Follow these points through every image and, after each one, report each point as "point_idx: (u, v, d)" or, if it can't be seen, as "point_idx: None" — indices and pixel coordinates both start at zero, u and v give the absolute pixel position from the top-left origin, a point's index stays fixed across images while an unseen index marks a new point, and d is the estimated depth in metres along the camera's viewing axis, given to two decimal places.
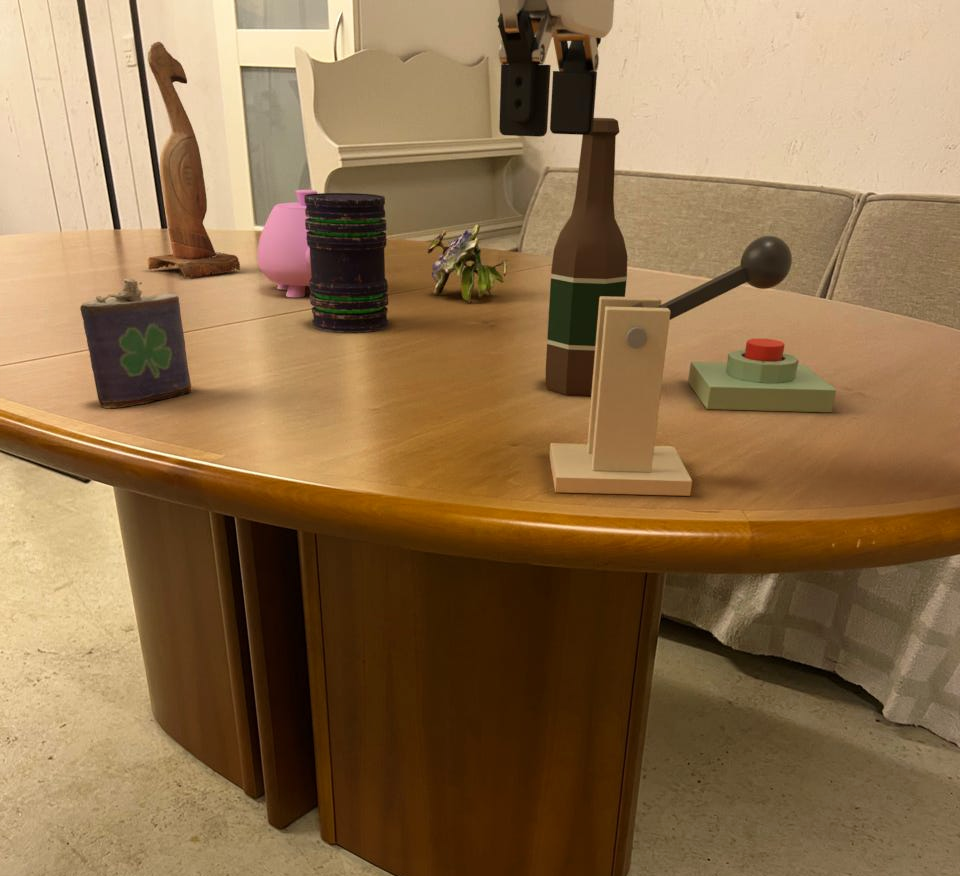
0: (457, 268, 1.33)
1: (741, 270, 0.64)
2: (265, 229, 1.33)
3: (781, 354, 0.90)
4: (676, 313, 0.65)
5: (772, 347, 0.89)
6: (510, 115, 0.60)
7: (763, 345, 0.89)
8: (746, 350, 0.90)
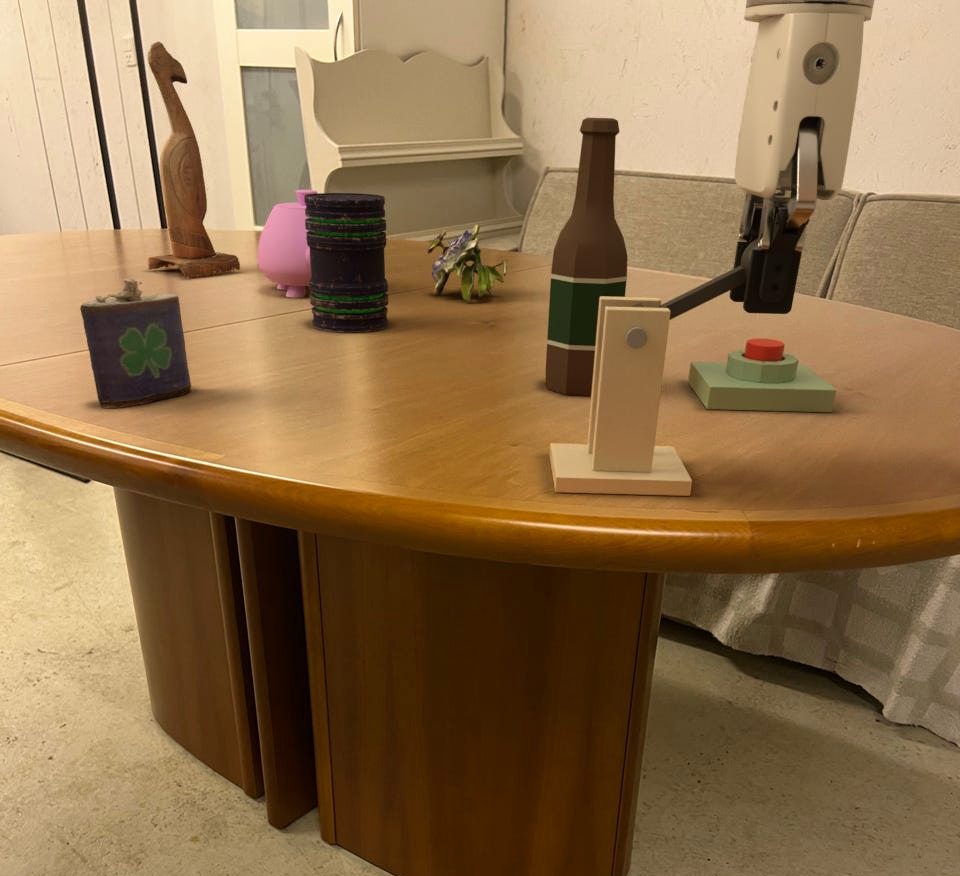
0: (457, 268, 1.33)
1: (741, 270, 0.64)
2: (265, 229, 1.33)
3: (781, 354, 0.90)
4: (676, 313, 0.65)
5: (772, 347, 0.89)
6: (764, 297, 0.62)
7: (763, 345, 0.89)
8: (746, 350, 0.90)
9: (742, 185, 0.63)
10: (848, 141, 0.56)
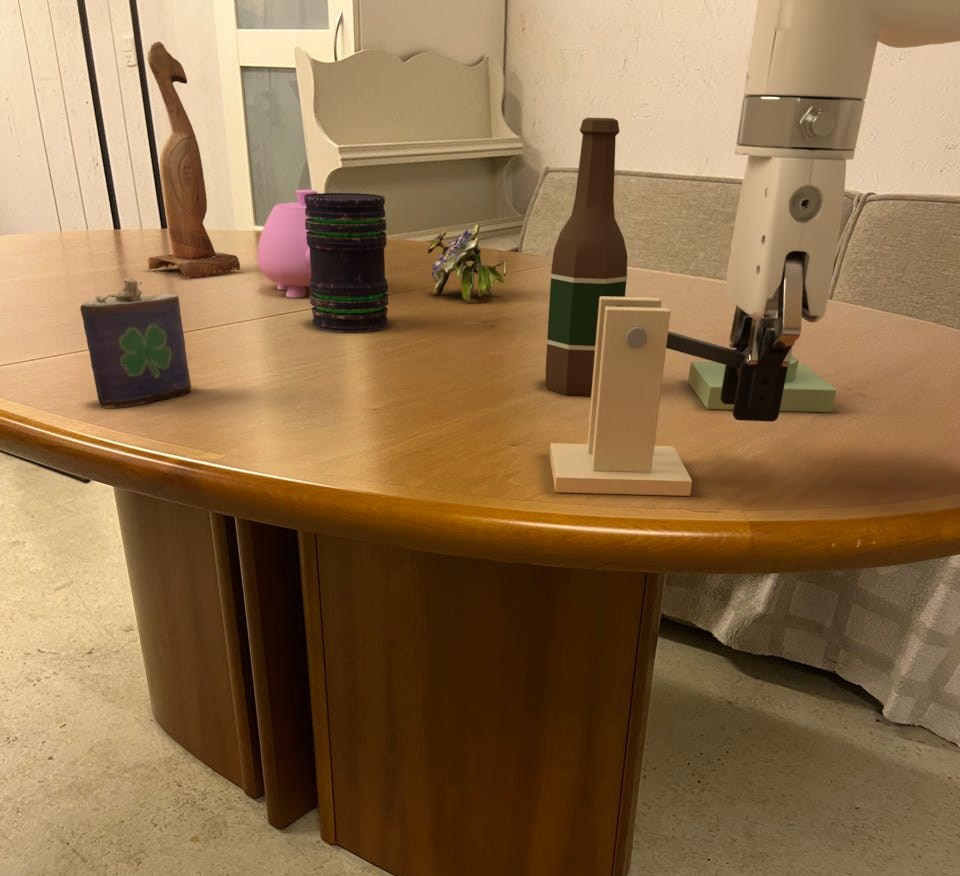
0: (457, 268, 1.33)
1: (742, 356, 0.67)
2: (265, 229, 1.33)
3: None
4: (673, 346, 0.66)
5: None
6: (753, 407, 0.66)
7: None
8: None
9: (732, 300, 0.67)
10: (831, 273, 0.60)
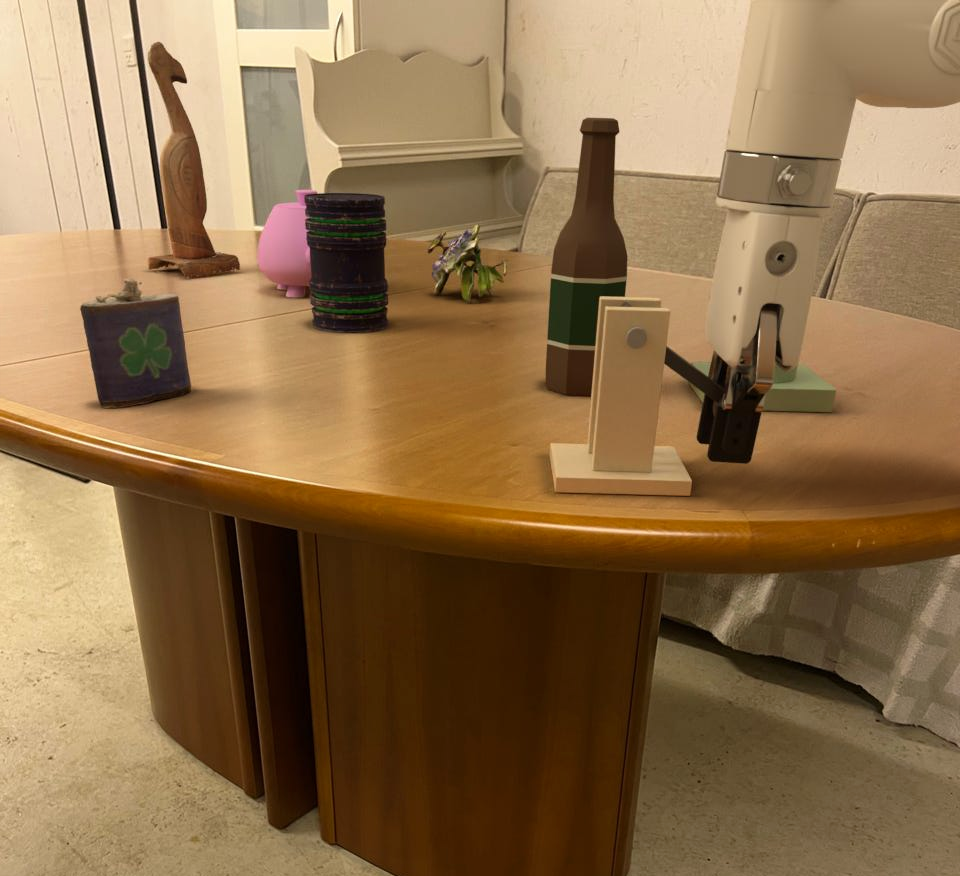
0: (457, 268, 1.33)
1: (723, 391, 0.68)
2: (265, 229, 1.33)
3: None
4: None
5: None
6: (726, 450, 0.67)
7: None
8: None
9: (710, 344, 0.68)
10: (804, 325, 0.61)
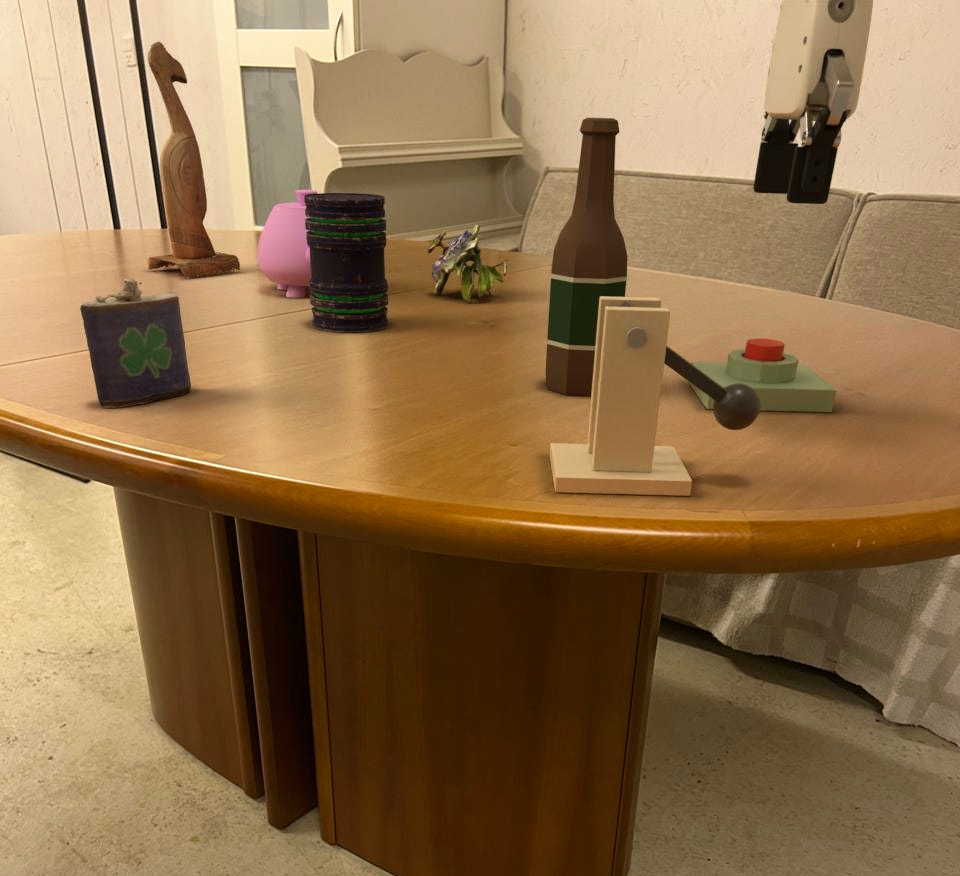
0: (457, 268, 1.33)
1: (723, 391, 0.68)
2: (265, 229, 1.33)
3: (781, 354, 0.90)
4: (665, 360, 0.67)
5: (772, 347, 0.89)
6: (806, 188, 0.73)
7: (763, 345, 0.89)
8: (746, 350, 0.90)
9: (772, 111, 0.77)
10: (862, 69, 0.70)
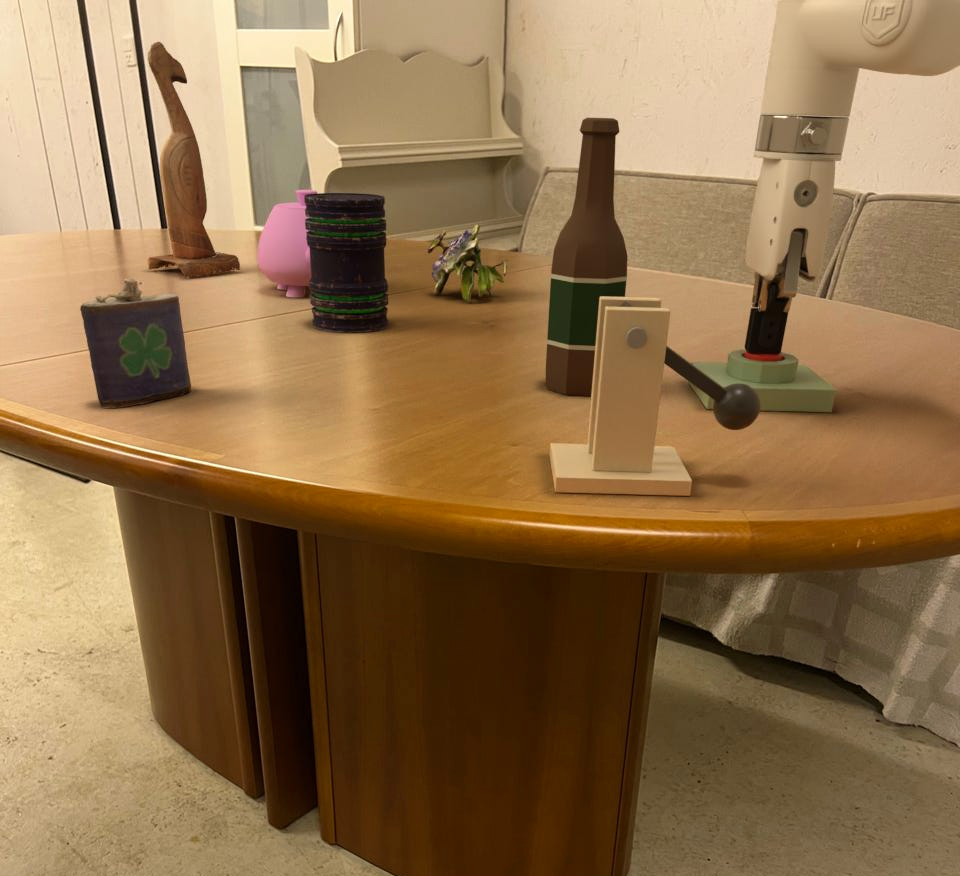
0: (457, 268, 1.33)
1: (723, 391, 0.68)
2: (265, 229, 1.33)
3: None
4: (665, 360, 0.67)
5: (770, 358, 0.89)
6: (762, 343, 0.89)
7: (761, 356, 0.89)
8: None
9: (751, 266, 0.88)
10: (825, 244, 0.81)
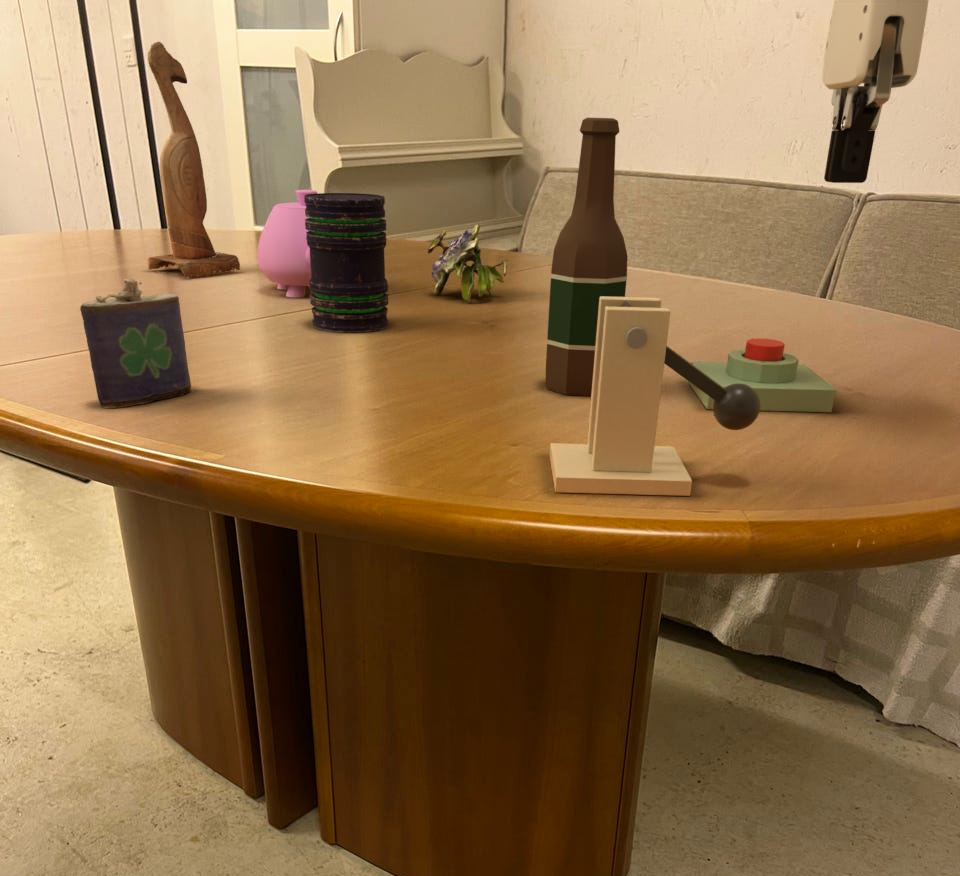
0: (457, 268, 1.33)
1: (723, 391, 0.68)
2: (265, 229, 1.33)
3: (781, 354, 0.90)
4: (665, 360, 0.67)
5: (772, 347, 0.89)
6: (846, 168, 0.80)
7: (763, 345, 0.89)
8: (746, 350, 0.90)
9: (831, 82, 0.79)
10: (922, 35, 0.72)
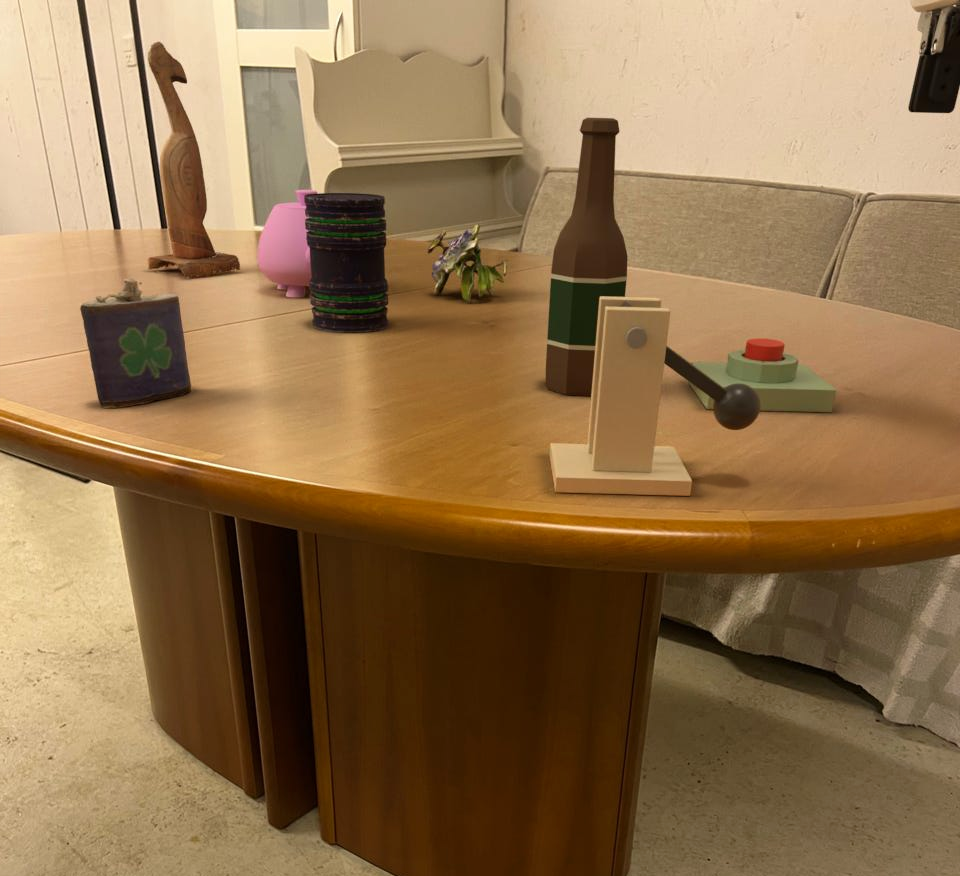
0: (457, 268, 1.33)
1: (723, 391, 0.68)
2: (265, 229, 1.33)
3: (781, 354, 0.90)
4: (665, 360, 0.67)
5: (772, 347, 0.89)
6: (934, 96, 0.75)
7: (763, 345, 0.89)
8: (746, 350, 0.90)
9: (921, 3, 0.75)
10: None
